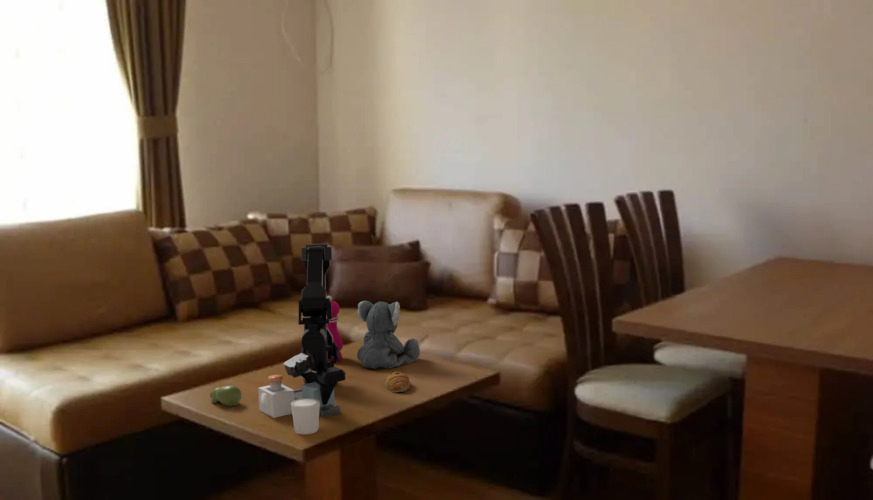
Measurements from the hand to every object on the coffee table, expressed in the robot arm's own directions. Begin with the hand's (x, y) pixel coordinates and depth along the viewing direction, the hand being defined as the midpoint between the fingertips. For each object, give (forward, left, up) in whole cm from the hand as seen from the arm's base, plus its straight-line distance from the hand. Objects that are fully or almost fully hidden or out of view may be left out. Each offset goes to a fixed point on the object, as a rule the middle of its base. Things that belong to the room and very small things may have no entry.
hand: (318, 401), depth 230 cm
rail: (0, -4, -2) cm, 4 cm away
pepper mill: (-27, -39, -2) cm, 47 cm away
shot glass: (+10, +11, -2) cm, 15 cm away
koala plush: (-37, -25, -2) cm, 45 cm away
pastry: (-26, -1, -2) cm, 26 cm away
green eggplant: (+16, -21, -2) cm, 27 cm away
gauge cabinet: (+9, -6, -2) cm, 11 cm away
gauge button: (+9, -6, +1) cm, 11 cm away
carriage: (0, 0, -2) cm, 2 cm away
